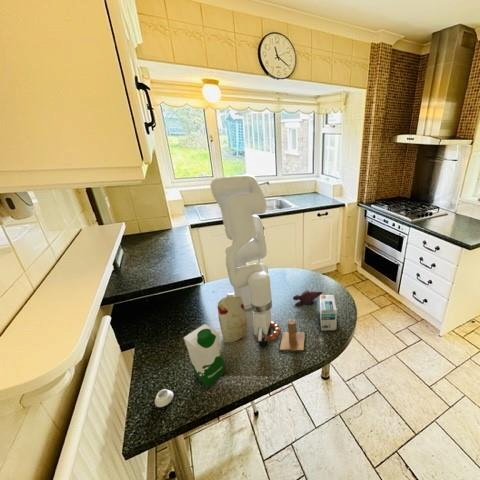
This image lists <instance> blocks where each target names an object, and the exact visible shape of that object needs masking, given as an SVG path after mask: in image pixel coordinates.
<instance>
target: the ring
mask: <svg viewBox="0 0 480 480" xmlns="http://www.w3.org/2000/svg"><path fill="white" fill-rule="evenodd" d="M270 326H271V328H272V329H273V332H271V333H270V334H267V335H266V339H267V341H268V342H270V341H274V340H275V339H276V338H277V337H279V335H280V334H281V327H280V324H278V323H277V322H276V321H272V320H271V322H270ZM253 335H254V337H255V339H256V340H258V334H257V335H255V334H254V333H253ZM262 338H264V335H262Z"/></svg>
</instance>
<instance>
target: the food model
mask: <svg viewBox="0 0 480 480" xmlns="http://www.w3.org/2000/svg"><path fill="white" fill-rule="evenodd" d="M216 307H217V315H218V322H219V327H220V332H221V335H222V340H223V343H237V342H239V341H241V340H243V339H244V338H245V337H246V336H247V330H248V329H247V328H248V324H247V323H248V322H247V321H248V320H247V314H246V313H247V312H246V309H245V308H244V304H243V300H242V298H241V297H231V296H229V297H227V296H225V297H223V298H221V299H220V300H219V301H218V302H217V306H216Z"/></svg>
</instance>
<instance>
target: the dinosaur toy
mask: <svg viewBox="0 0 480 480" xmlns="http://www.w3.org/2000/svg"><path fill="white" fill-rule="evenodd" d="M323 294H324V292H323V291H309V290H308V289H306V290H305V291H303V292H302V293H301V294H300V295H298V294H296V295H294V296H292V299H293V301H297V302H296V303H294V307H300V306H302V305H312V304H313V301H315V300H316V299H317V298H318V297H320V295H323Z"/></svg>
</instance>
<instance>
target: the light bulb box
mask: <svg viewBox="0 0 480 480" xmlns="http://www.w3.org/2000/svg"><path fill="white" fill-rule="evenodd" d="M335 298H336V297H335V294H321V295H319V321H320V331H322V332H323V331H337V322H338V308H337V303H336V299H335Z"/></svg>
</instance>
